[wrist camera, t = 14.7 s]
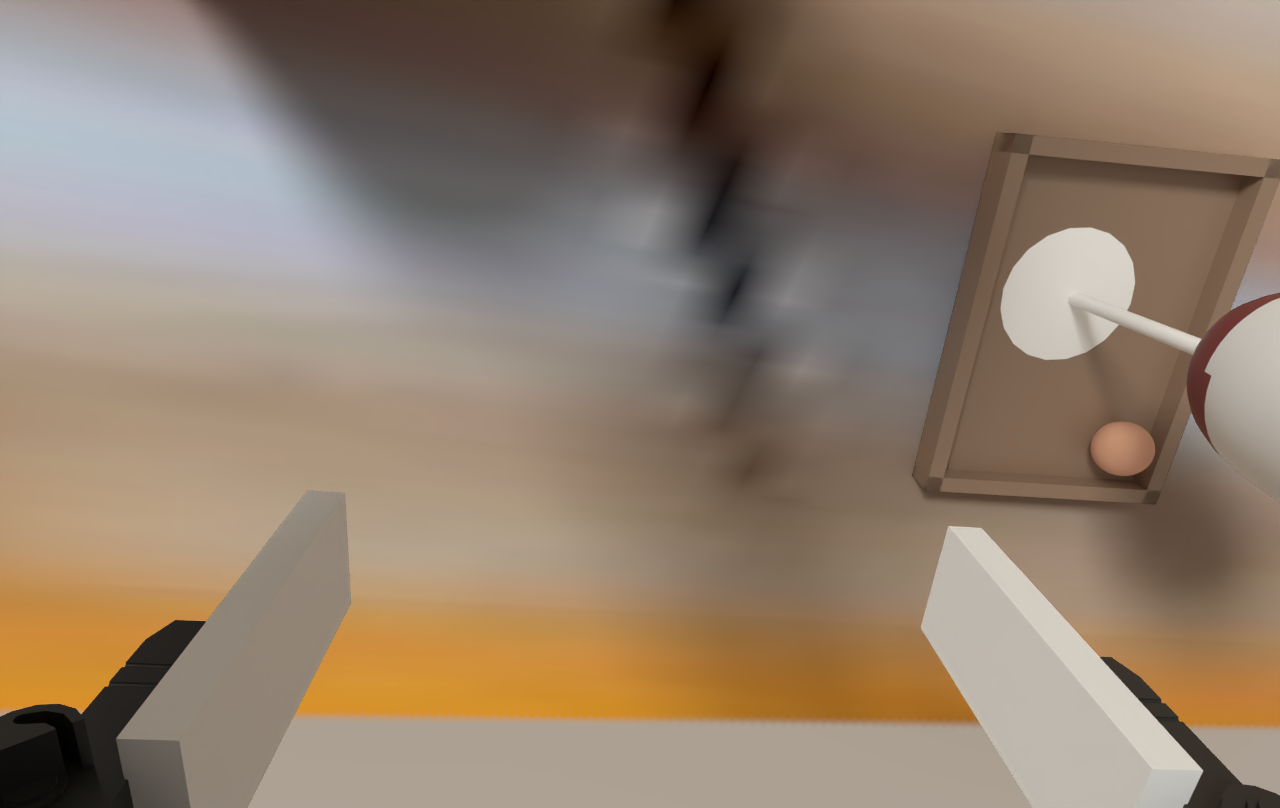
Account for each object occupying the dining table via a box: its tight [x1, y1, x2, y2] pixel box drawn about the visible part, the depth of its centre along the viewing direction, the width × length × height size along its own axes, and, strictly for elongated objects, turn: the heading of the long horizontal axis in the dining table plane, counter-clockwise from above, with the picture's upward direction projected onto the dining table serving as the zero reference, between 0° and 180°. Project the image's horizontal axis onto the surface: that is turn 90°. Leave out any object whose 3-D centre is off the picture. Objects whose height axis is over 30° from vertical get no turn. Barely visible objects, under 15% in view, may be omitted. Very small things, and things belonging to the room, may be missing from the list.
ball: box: [1090, 421, 1155, 476], centre depth 48 cm, size 4×4×4 cm
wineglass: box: [1000, 227, 1280, 502], centre depth 36 cm, size 9×10×22 cm
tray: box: [912, 133, 1280, 504], centre depth 47 cm, size 22×16×2 cm
